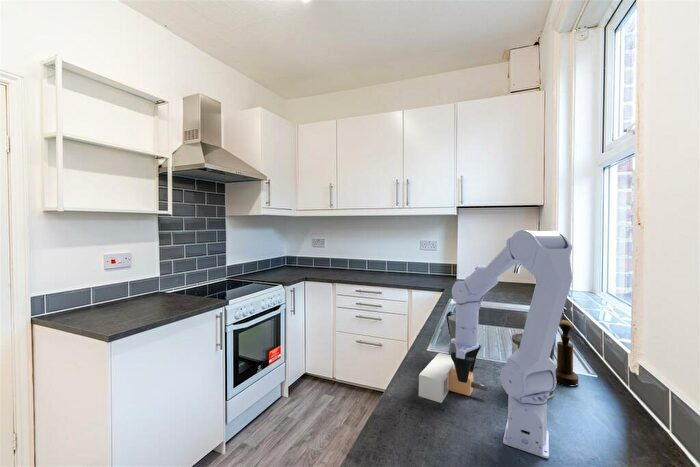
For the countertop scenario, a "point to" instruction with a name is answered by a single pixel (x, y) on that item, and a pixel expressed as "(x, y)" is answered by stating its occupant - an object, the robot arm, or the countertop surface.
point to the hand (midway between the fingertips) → (465, 375)
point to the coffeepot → (452, 331)
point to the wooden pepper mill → (565, 357)
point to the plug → (464, 384)
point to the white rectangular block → (436, 378)
